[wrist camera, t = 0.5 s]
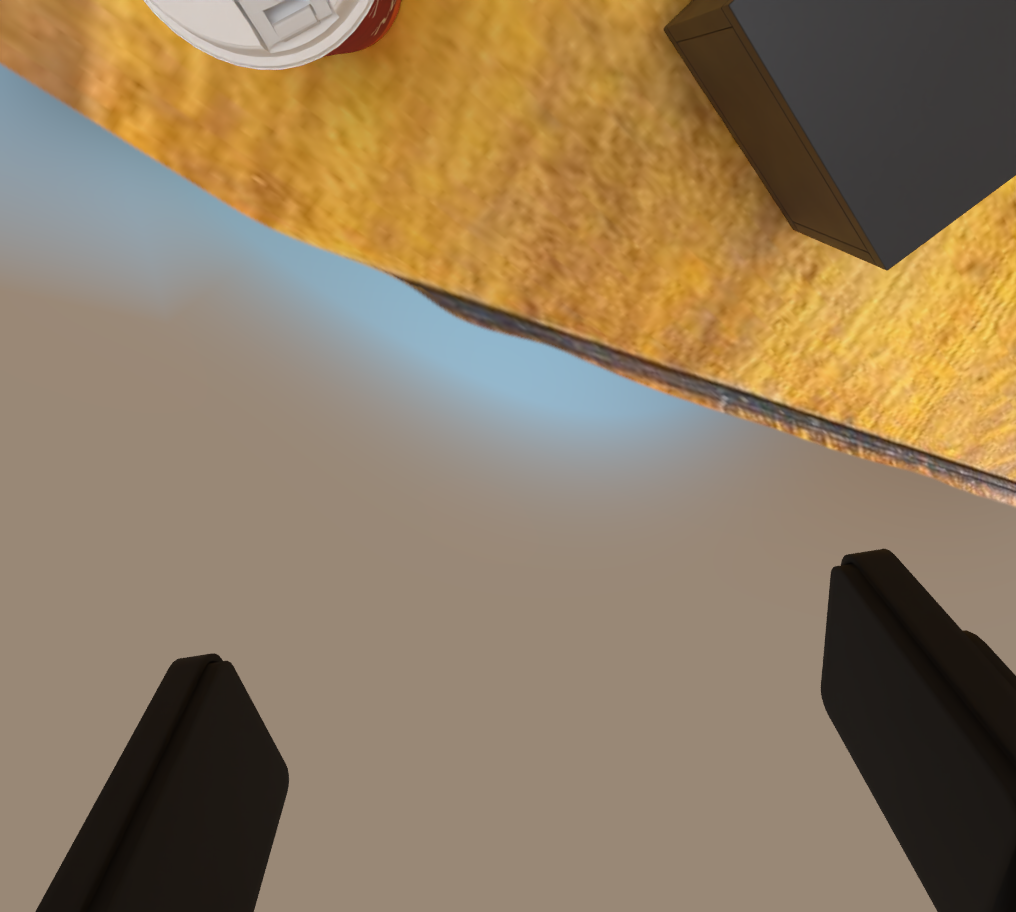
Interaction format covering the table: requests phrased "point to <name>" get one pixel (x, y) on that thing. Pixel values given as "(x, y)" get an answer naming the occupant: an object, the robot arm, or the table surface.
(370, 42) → the coffee cup
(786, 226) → the table surface
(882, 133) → the cabinet
